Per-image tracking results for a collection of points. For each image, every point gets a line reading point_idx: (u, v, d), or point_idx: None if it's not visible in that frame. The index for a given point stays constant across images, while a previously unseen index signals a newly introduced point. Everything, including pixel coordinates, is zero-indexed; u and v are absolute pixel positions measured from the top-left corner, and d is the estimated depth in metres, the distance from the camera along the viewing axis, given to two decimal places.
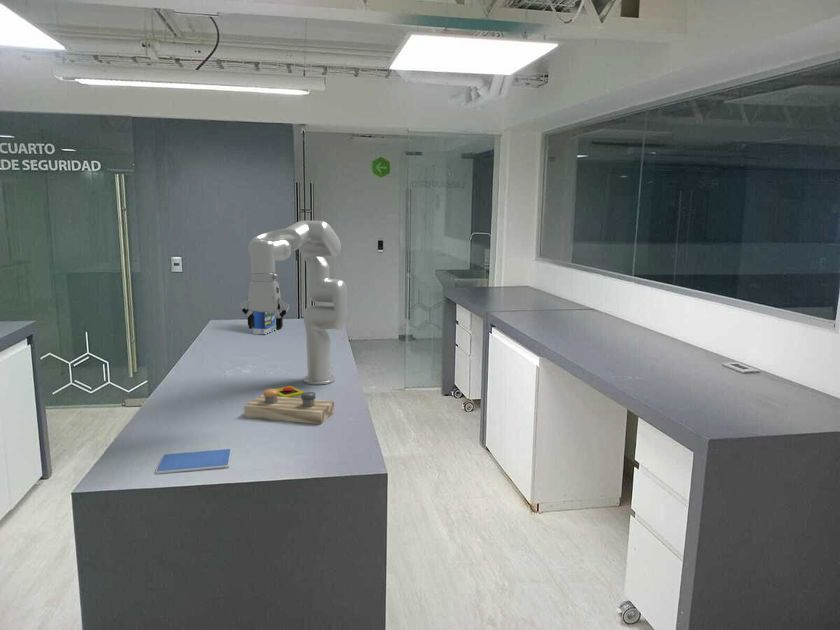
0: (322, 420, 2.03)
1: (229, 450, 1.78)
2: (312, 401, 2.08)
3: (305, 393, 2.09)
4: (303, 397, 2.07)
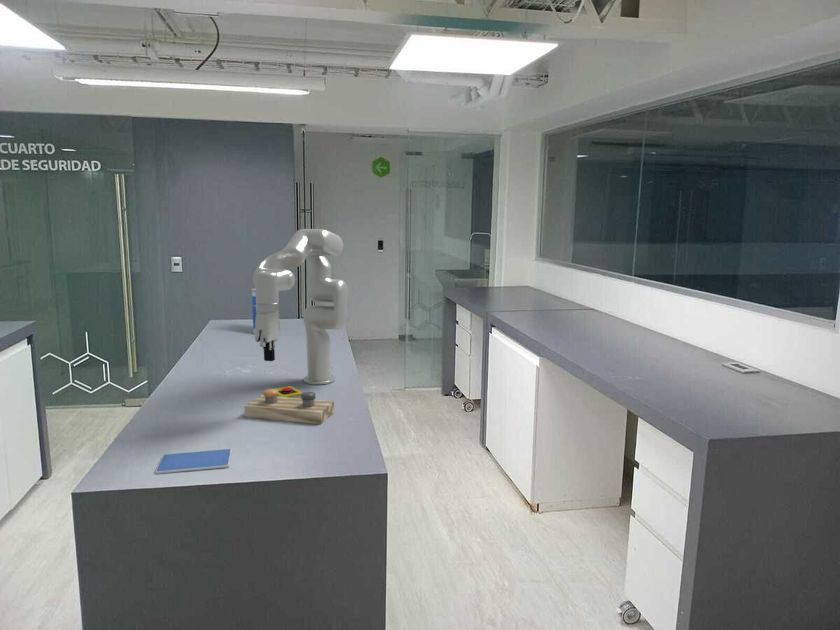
0: (322, 420, 2.03)
1: (229, 450, 1.79)
2: (312, 401, 2.08)
3: (305, 393, 2.09)
4: (303, 397, 2.07)
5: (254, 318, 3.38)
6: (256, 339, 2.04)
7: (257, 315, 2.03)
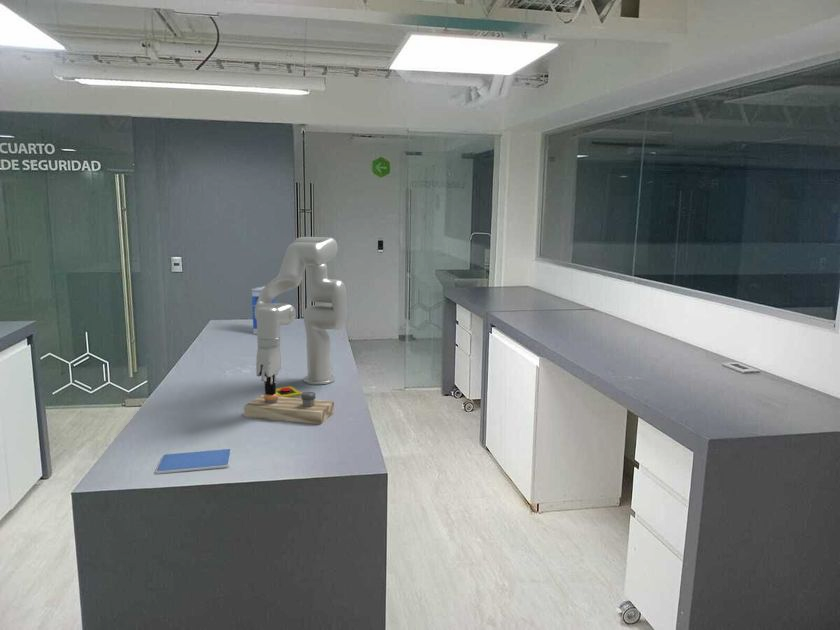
0: (322, 420, 2.03)
1: (229, 450, 1.79)
2: (312, 401, 2.08)
3: (305, 393, 2.09)
4: (303, 397, 2.07)
5: (254, 318, 3.38)
6: (257, 374, 2.06)
7: (258, 350, 2.05)
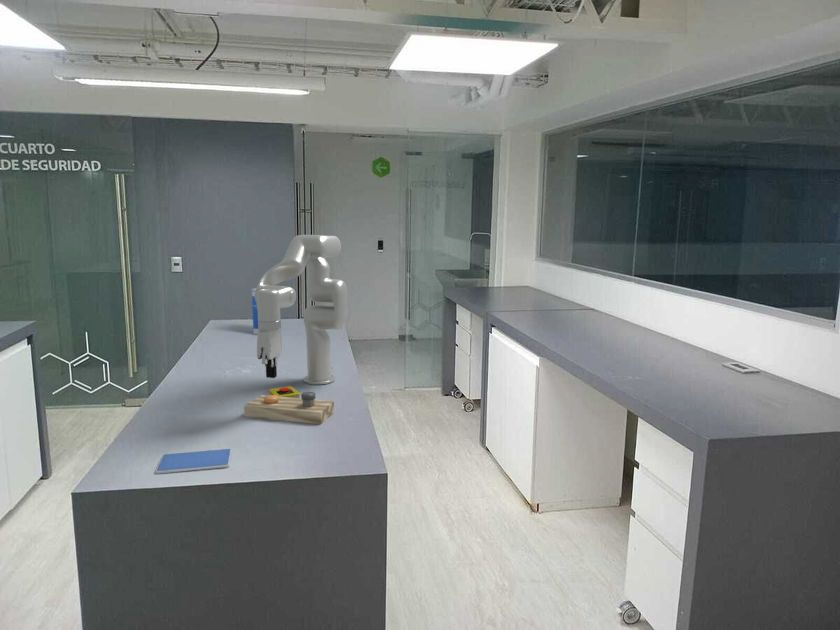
0: (322, 420, 2.03)
1: (229, 450, 1.79)
2: (312, 401, 2.08)
3: (305, 393, 2.09)
4: (303, 397, 2.07)
5: (254, 318, 3.38)
6: (258, 356, 2.05)
7: (259, 333, 2.04)
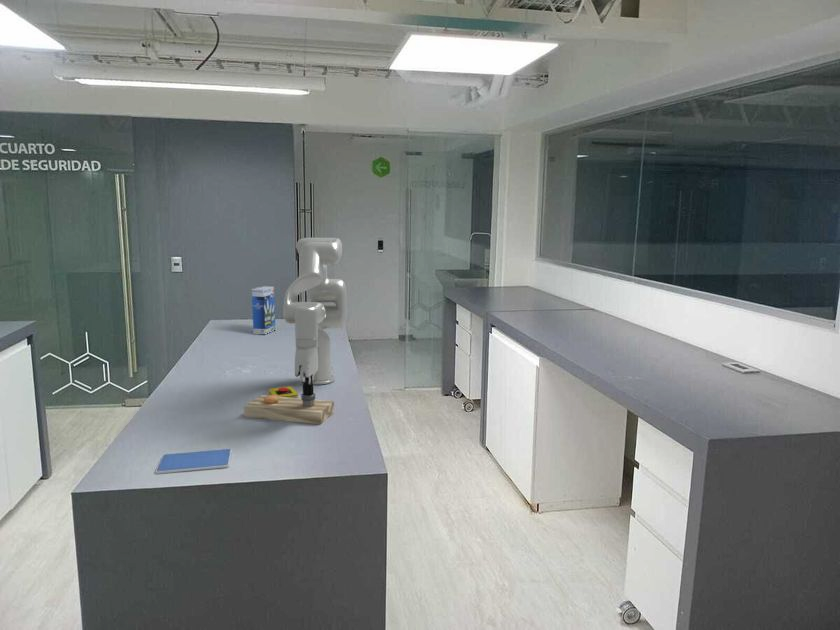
0: (322, 420, 2.03)
1: (229, 450, 1.79)
2: (312, 402, 2.09)
3: None
4: (303, 398, 2.07)
5: (254, 318, 3.38)
6: (296, 374, 2.03)
7: (297, 350, 2.02)
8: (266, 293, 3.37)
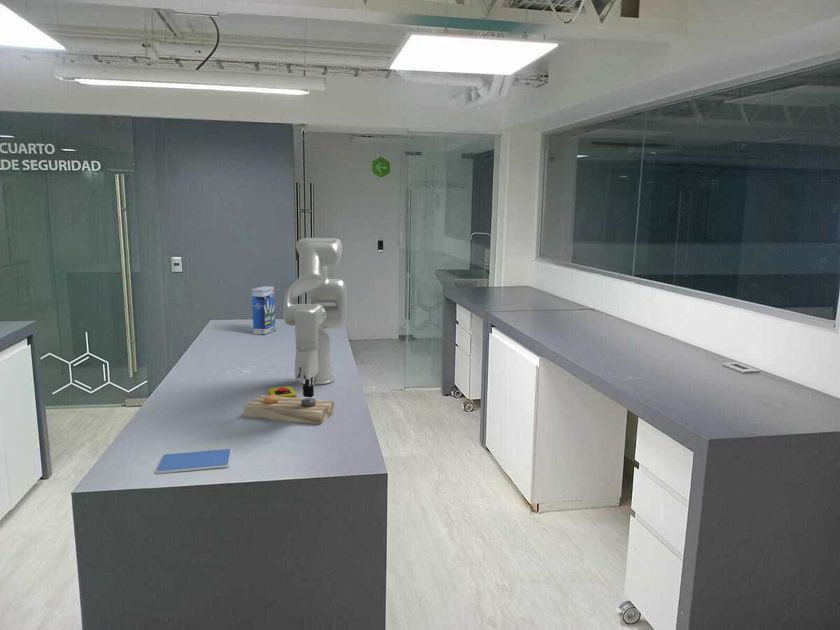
0: (322, 420, 2.03)
1: (229, 450, 1.79)
2: None
3: (305, 400, 2.09)
4: (303, 403, 2.07)
5: (254, 318, 3.38)
6: (296, 376, 2.03)
7: (297, 353, 2.02)
8: (266, 293, 3.37)
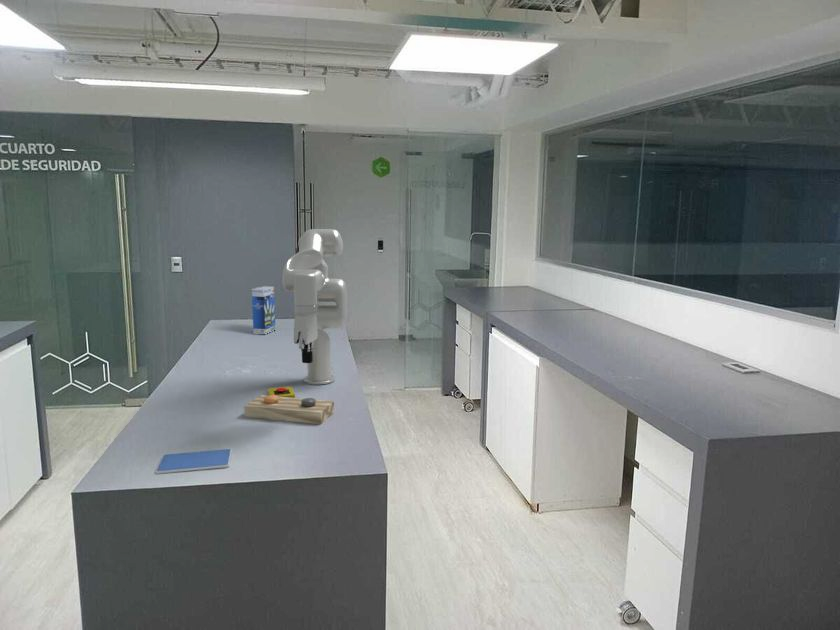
0: (322, 420, 2.03)
1: (229, 450, 1.79)
2: None
3: (305, 400, 2.09)
4: (303, 403, 2.07)
5: (254, 318, 3.38)
6: (295, 341, 2.01)
7: (296, 317, 2.00)
8: (266, 293, 3.37)
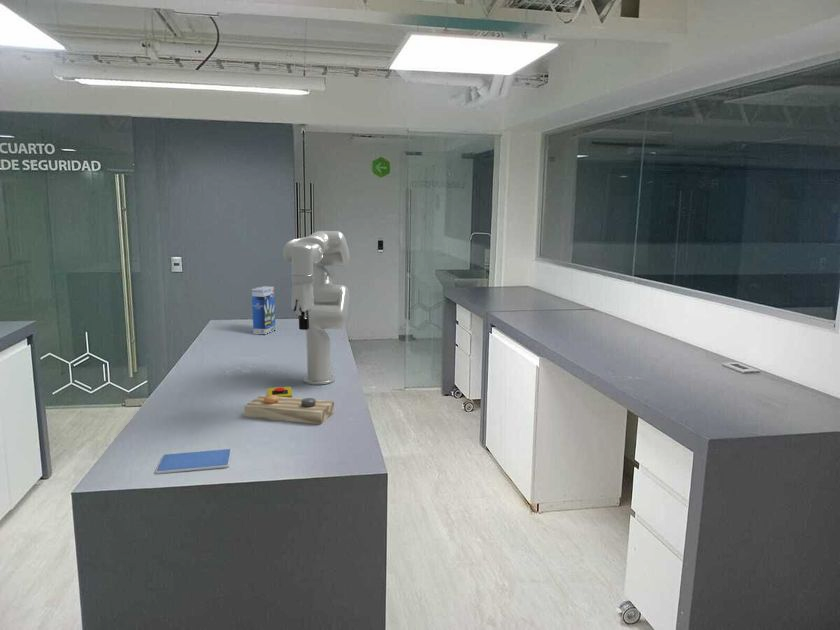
0: (322, 420, 2.03)
1: (229, 450, 1.79)
2: None
3: (305, 400, 2.09)
4: (303, 403, 2.07)
5: (254, 318, 3.38)
6: (292, 308, 2.16)
7: (293, 286, 2.15)
8: (266, 293, 3.37)
